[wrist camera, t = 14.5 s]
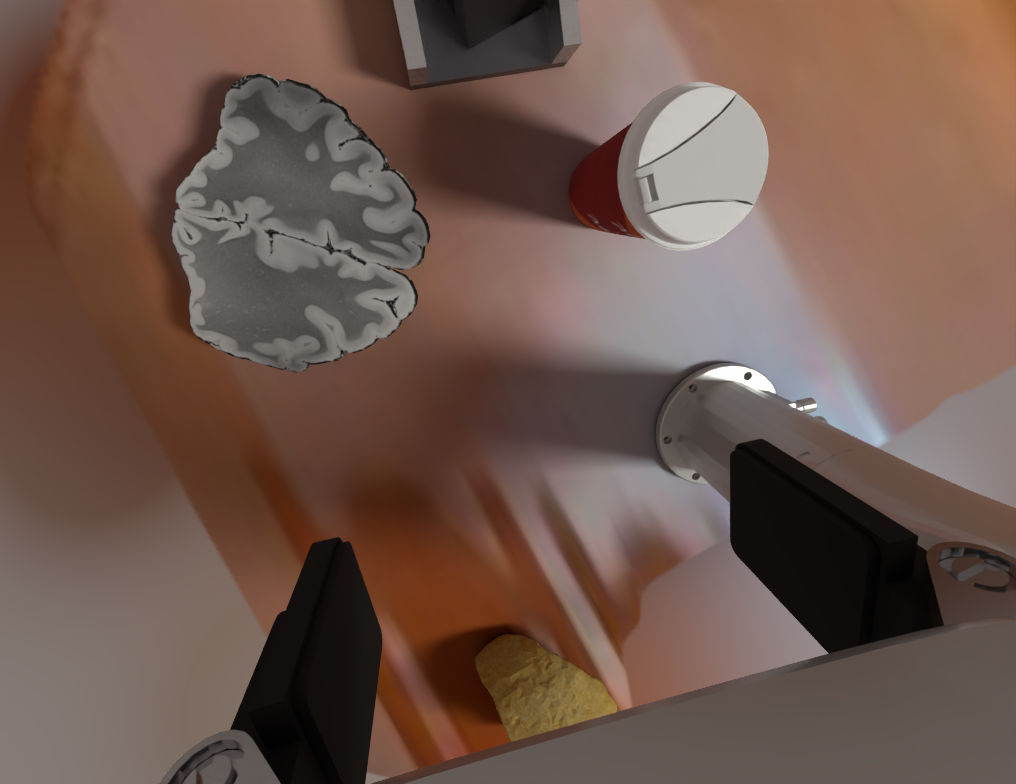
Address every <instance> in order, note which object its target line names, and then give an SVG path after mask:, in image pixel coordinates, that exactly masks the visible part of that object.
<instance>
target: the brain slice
mask: <svg viewBox="0 0 1016 784" xmlns="http://www.w3.org/2000/svg"><path fill="white" fill-rule="evenodd" d="M416 201H417V199H416V196H415V192H414V191H413V189H412V187H411V186H410V184H409V183H408V181H407V180H406V179H405V177H404V176H403V175H402V174H401V173H400V172H398V171H396V170H395V169H392V168H390V167H389V165H388V162H387V158H386V156H385V155H384V153H383V151H382V150H381V148H380V147H378V146H377V145H376V144H375V143H374V142H373V141H372V140H371V139H370V138H369V137H368V136H367V135H366V134H365V133H364V131H363V130H362V129H361V128H360V127H359V126H358V125H357V124H355V123H354V122H353V121H352V120H350V119H349V116H348V113H347V110H346V109H345V108H344V107H342V106H341V105H340V104H339V103H338V102H335V101H333V100H330V99H328V98H326V97H325V96H324V95H323V94H322V93H321V92H320V91H319V90H318V89H316V88H314V87H312V86H310V85H308V84H303V83H299V82H296V81H293V80H290V79H284V80H282V81H281V82H279V81H278V80H276V79H274V78H273V77H271V76H269V75H263V74H255V75H248V76H246V77H244V78H242V79H240V80H239V81H237V82H236V83H234V84H233V85H232V86H231V87H230V88H229V90H228V91H227V93H226V95H225V104H224V106H223V108H222V111H221V116H220V129H219V132H218V135H217V139H216V142H215V145H214V147H213V148H212V149H211V150H210V151H208V152H207V153H206V154H205V155H204V156H203V157H202V158H201V159H200V160H199V161H198V163H197V164H196V165H195V167H194V168H193V169H192V171H191V174H190V175H188V176H186V177H185V178H184V180H183V181H182V183H181V184H180V185H179V187H178V188H177V190H176V203H177V204H178V205H179V208H180V209H176V210H174V221H173V228H172V235H171V238H172V241H173V243H174V246H175V249H176V250H177V252H178V254H179V257H180V261H181V264H182V267H183V270H184V272H185V274H186V275H187V277H188V280H189V285H190V289H191V295H190V300H189V307H188V308H189V312H190V324H191V327H192V329H193V332H194V333H195V334H196V336H197V337H198V338H199V339H201V340H203V341H205V342H206V343H208V344H210V345H211V346H213V347H214V348H216V349H218V350H220V351H222V352H225V353H227V354H229V355H231V356H234V357H237V358H241V359H247V360H251V361H253V362H256V363H259V364H263V365H266V366H270V367H273V368H277V369H281V370H285V369H287V370H290V371H293V372H302V371H305V370H306V369H307V368H308V366H309V364H321V363H326V362H333V361H338V360H339V359H340V358H341V357H343V356H345V353H355V352H359V351H362V350H364V349H366V348H368V347H369V346H371V345H373V344H374V343H375V342H376V341H377V340H378V339H379V338H386V337H388V336H390V335H391V334H392V333H393V332H395V331H396V330H397V328H398V327H399V326H400V325H401V322H402V320H404V319H405V318H407V317H408V316H409V315H410V314H411V313H412V312H413V310H414V308H415V306H416V304H417V299H418V295H417V291H416V289H415V286H414V284H413V282H412V280H411V279H409V278H408V277H407V276H406V275H405V274H402V273H400V272H398V271H396V270H393V269H391V268H390V267H392V268H396V269H399V270H407V269H410V268H413V267H415V266H417V265H419V264H420V263H421V262H422V259H423V258H424V253H425V246H426V245H427V244H428V243H429V239H430V231H429V226H428V223H427V221H426V219H425V217H424V216H423V215H422V214H421V213H420V212H419V211H417V210H416V209H415V206H416ZM385 265H386V266H385ZM387 266H389V267H387Z"/></svg>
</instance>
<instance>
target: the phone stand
mask: <svg viewBox="0 0 1016 784" xmlns="http://www.w3.org/2000/svg"><path fill="white" fill-rule="evenodd" d="M446 1H447V4H448V6H449V8H450V10H451V12H452V15H453V17H454V19H455V21H456V23H457V25H458V28H459V30H460V32H461V34H462V36H463V39H464V41H465V43H466V45H467V47H470V46H472V45H474V44H475V43H477V42H479V41H481V40H482V39H484V38H486V37H488V36H489V35H491V34H493V33H495V32H496V31H498V30H500V29H502V28H503V27H505V26H507V25H508V24H510V23H512V22H514V21H515V20H517V19H519V18H521V17H522V16H524V15H526V14H528V13H529V12H531V11H533V10H535V9H536V8H538V7H540V6H541V5H543V4H544V3H545V0H446Z"/></svg>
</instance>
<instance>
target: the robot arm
mask: <svg viewBox="0 0 1016 784" xmlns="http://www.w3.org/2000/svg"><path fill="white" fill-rule="evenodd" d="M816 408H817V404H816V402H815V400H814V399H812V398H805V399H801V400H797V401H795V402H791V401H789V400H787V399H785V398H783V397H781V396H778V395H777V392H776V390H775V388H774V386H773V385H772V383H771V382H770V381H769V380H768V379H767V378H766V377H765V376H764V375H763V374H762V373H760V372H758V371H756V370H755V369H753V368H750V367H748V366H745V365H742V364H736V363H719V364H714V365H710V366H707V367H705V368H702V369H700V370H697V371H696V372H694V373H693V374H691V375H689V376H688V377H686V378H685V379H684V380H683V381H682V382H680V383H679V384H678V385H677V386H676V387H675V388H674V390H673V391H672V392H671V393H670V395H669V396H668V397H667V399H666V401H665V403H664V404H663V406H662V408H661V411H660V414H659V416H658V420H657V425H656V443H657V448H658V452H659V454H660V456H661V458H662V460H663V461H664V462H665V464H666V465H667V466H668V467H669V468H670V469H671V470H672V471H673V472H674V473H675V474H676V475H677V476H679V477H681V478H682V479H684V480H686V481H689V482H691V483H696V484H704V485H707V484H710V485H711V486H712V487H713V488H714V489H716V490H717V491H718V492H719V493H720V494H721V495H722V496H723V497H724V498H725V499H726V500H728V501H729V502H730V540H731V545H732V548H733V550H734V552H735V554H736V555H737V556H738V557H739V558H740V559H741V560H742V561H743V562H744V564H745V565H746V566H747V567H748V568H749V569H750V570H751V571H752V572H753V573H754V574H755V575H756V576H757V577H758V578H759V580H760V581H761V582H762V583H763V584H764V585H765V586H766V587H767V588H768V589H769V590H770V591H771V592H772V593H773V594H774V596H775V597H776V598H777V599H778V600H779V601H780V602H781V603H782V604H783V605H784V606H785V607H786V608H787V609H788V611H789V612H790V613H791V614H792V615H793V616H794V617H795V618H796V619H797V620H798V621H799V622H800V623H801V624H802V625H803V626H804V627H805V629H806V630H807V631H808V632H809V633H810V634H811V635H812V636H813V637H814V638H815V639H816V640H817V641H818V643H819V644H820V645H821V646H822V647H823V648H824V649H825V650H826V651H827V652H828V653H829V654H826V655H823V656H819V657H815V658H812V659H808V660H804V661H800V662H797V663H793V664H789V665H786V666H782V667H778V668H775V669H771V670H767V671H764V672H761V673H756V674H753V675H749V676H746V677H742V678H738V679H734V680H731V681H727V682H723V683H720V684H716V685H713V686H709V687H705V688H702V689H699V690H695V691H691V692H687V693H684V694H680V695H677V696H673V697H670V698H666V699H662V700H658V701H655V702H651V703H648V704H644V705H641V706H637V707H634V708H630V709H626V710H623V711H619V712H616V713H612V714H608V715H605V716H601V717H598V718H594V719H591V720H587V721H583V722H580V723H576V724H573V725H569V726H566V727H562V728H559V729H555V730H552V731H548V732H545V733H541V734H538V735H534V736H531V737H527V738H524V739H520V740H517V741H513V742H510V743H506V744H503V745H499V746H496V747H492V748H489V749H485V750H482V751H478V752H475V753H471V754H468V755H464V756H461V757H457V758H454V759H451V760H447V761H444V762H441V763H438V764H434V765H431V766H428V767H425V768H421V769H418V770H415V771H411V772H408V773H405V774H402V775H398V776H395V777H392V778H388V779H385V780H382V781H379V782H375V783H372V784H1016V508H1015V507H1012V506H1009V505H1006V504H1004V503H1001V502H999V501H996V500H993V499H991V498H988V497H986V496H983V495H980V494H978V493H975V492H972V491H970V490H967V489H965V488H963V487H961V486H958V485H956V484H954V483H952V482H950V481H947V480H945V479H943V478H941V477H938V476H936V475H934V474H932V473H929V472H927V471H925V470H923V469H920V468H918V467H916V466H914V465H912V464H910V463H908V462H906V461H903V460H901V459H899V458H897V457H895V456H893V455H891V454H889V453H887V452H885V451H883V450H881V449H879V448H876V447H874V446H872V445H870V444H868V443H866V442H864V441H862V440H860V439H858V438H856V437H854V436H852V435H850V434H848V433H846V432H844V431H842V430H839V429H837V428H835V427H833V426H831V425H829V424H828V423H827V421H826V419H824V418H823V417H821V416H816V417H813V416H811V415H809V414H807V413H810V412H814V411H815V410H816ZM381 652H382V633H381V629H380V625H379V623H378V620H377V617H376V614H375V611H374V608H373V605H372V602H371V600H370V597H369V594H368V591H367V588H366V585H365V582H364V580H363V577H362V574H361V571H360V568H359V565H358V562H357V560H356V557H355V554H354V551H353V548H352V546H351V544H350V542H348V541H347V542H342V540H341V539H340V538H339V537H337V538H332V539H328V540H324V541H319V542H315V543H313V544H312V545H311V547H310V550H309V553H308V555H307V558H306V560H305V563H304V565H303V568H302V570H301V573H300V576H299V578H298V581H297V583H296V586H295V588H294V591H293V593H292V596H291V599H290V601H289V604H288V606H287V609H286V611H282V612H281V613H280V614H278V616H277V618H276V619H275V621H274V624H273V626H272V629H271V631H270V634H269V636H268V638H267V641H266V643H265V646H264V648H263V651H262V653H261V656H260V658H259V660H258V663H257V665H256V668H255V670H254V673H253V675H252V678H251V680H250V682H249V685H248V687H247V690H246V692H245V695H244V697H243V700H242V702H241V704H240V707H239V709H238V712H237V714H236V717H235V719H234V722H233V724H232V727H231V729H230V730H229V731H223V732H219V733H217V734H215V735H213V736H210V737H208V738H206V739H205V740H203V741H201V742H200V743H199V744H197V745H196V746H194V747H193V748H191V749H190V750H189V751H187V753H185V754H184V755H183V756H182V757H181V758H180V759H179V760H178V761H177V762H176V763H175V764H174V765H173V766H172V768H171V769H170V770H169V771H168V772H167V774H166V775H165V776H164V777H163V779H162V780H161V782H160V784H365V780H366V772H367V764H368V756H369V748H370V740H371V732H372V724H373V716H374V708H375V700H376V692H377V684H378V676H379V668H380V660H381Z"/></svg>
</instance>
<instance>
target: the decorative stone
mask: <svg viewBox="0 0 1016 784" xmlns="http://www.w3.org/2000/svg"><path fill="white" fill-rule="evenodd" d="M475 663H476V668H477V672H478V673H479V677H480V678H481V681H482V683H483V684H484V685H485V687H486V688H487V689H488V691H489V693H490V694H491V696H492V697H493V700H494V702H495V705H496V709H497V711H498V713H499V716H500V718H501V720H502V723H503V725H504V728H505V730H506V732H507V734H508V736H509V738H510V741H511V742H513V741H517V740H520V739H524V738H527V737H531V736H534V735H538V734H541V733H545V732H548V731H552V730H555V729H559V728H562V727H566V726H569V725H573V724H576V723H580V722H583V721H587V720H591V719H594V718H598V717H601V716H605V715H608V714H612V713H616V710H617V704H616V702H615V701H614V700H613V699H612V698H611V697H610V695H609V694H608V692H607V690H606V687H605V686H604V684H603V683H602V681H601V680H599V679H597V678H594V677H591V676H589V675H588V674H586V673H585V672H583V671H582V670H580V669H579V668H577V667H576V666H575V665H573V664H572V663H570V662H569V661H567V660H564V659H563V658H561V657H559V656H558V655H557V654H552V653H550V652H549V651H547V650H546V649H544V648H543V647H542V646H540V643H538V642H536V641H534V640H532V639H530V638H528V637H525V636H522V635H511V634H504V635H501V636H500V637H498V638H496V639H494V640H493V641H492V642H490V643H489V644H488V645H486V646H485V647H484V648H483V650H482V651H481V652H480V653H479V654H478V655H477V656H476V657H475Z"/></svg>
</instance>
